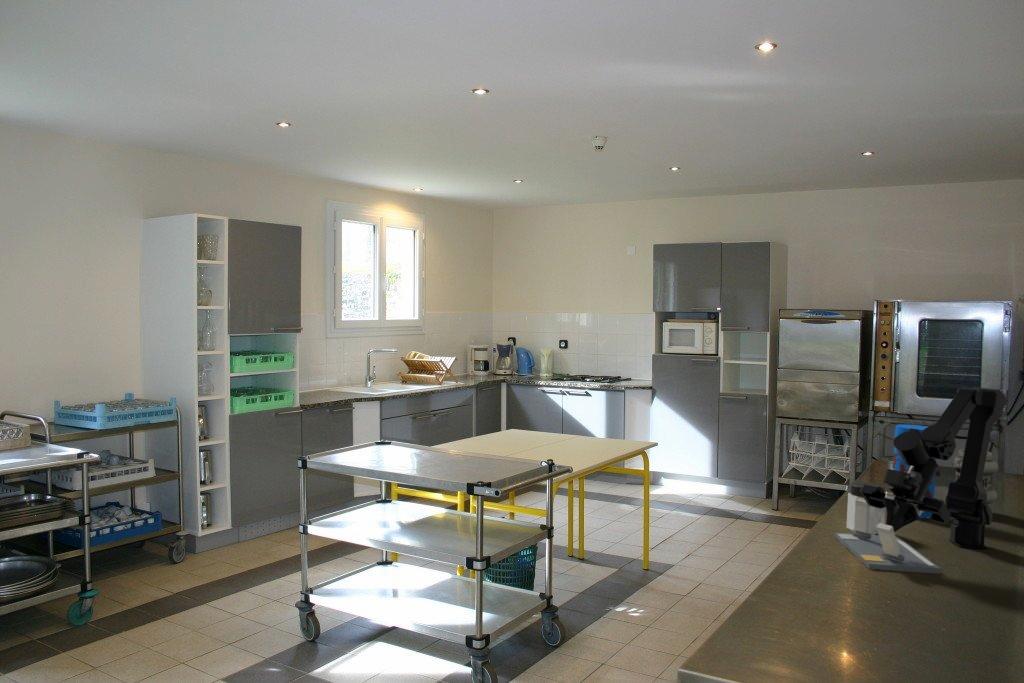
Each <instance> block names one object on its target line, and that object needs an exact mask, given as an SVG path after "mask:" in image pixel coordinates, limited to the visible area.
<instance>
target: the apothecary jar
mask: <svg viewBox="0 0 1024 683" xmlns="http://www.w3.org/2000/svg"><path fill="white" fill-rule="evenodd" d="M964 450H965V448H964V449H963V448H962V449H959V450H958V453H957V456H955V457H954V458H953V459H952V460H951V465H952V467H953V468H954V469H955V475H954V476H955V477H954V478H955V479H954V482H955V481H956V480H957V479H958V478H959V477H960V472H961V466H962V461H963V456H964ZM992 453H993V452H990V451H987V456H986V461H985V467H984V472H983V478H982V484H983V486H984V489H985V491H986V493H987V504H988V505H989V504H992V503H994V502H995V501H997V499H998V493H997V491H996V490H995V489H994V488H993V486H994V485H993V483H994V474H995V473H997V471H999V465H998V463H997V462H996V461H995V460H994V458H993V454H992Z"/></svg>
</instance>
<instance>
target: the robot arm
mask: <svg viewBox="0 0 1024 683" xmlns="http://www.w3.org/2000/svg"><path fill="white" fill-rule="evenodd" d="M1006 405H1007V396H1006V394H1004V393H1003V391H1002V390H1001V389H996V388H985V387H975V386H973V387H971V388H970V387H960V388H956V389H955V392H954V397H953V398H952V399H951V401H950V403H949V404H948V406H947V407H946V409H944V411H943V412H942V414H941V415H940V416H939V418H938V420H937V421H936V422H935V423H934V424H932V425H930V426H928V427H927V428H925V429H924V430H923V431H922V432H921V433H920V432H919V430H918V429H913V428H910V429H909V430H908V432H904V433H901V434H900V435H898V436H897V437H895V436H894V439H893V447H894V446H895V448H896V450H897V452H898V453H899V455H900V457H901V459H902V460H903V462H904V463H905V464H907V465H908V467H907V469H906V471H905V472H902V471H897V470H893V468H891V469H890V468H886V470H885V474H884V477H883V481H882V482H883V483H884V484H887V485H888V486H889V487H888V490H889V491H890V492H888V491H886V492H885V490H884V491H883V489H882V488H881V487H880V486H876V485H871V484H864V485H863V486H862V488H861V490H860V493H861V494H862V496H863V497H864V499H865V501H866V502H867V504H868V505H870V506H871V507H876V508H880V509H882V508H884V507H885V509H886V519H885V520H886V522H885V523H886V525H890V526H893V529H894V533H896V532H897V531H899V530H901V529H902V528H904V527H906V526H908V525H909V524H912V523H913V522H916V521H918V522H920V521H921V520H922V519H921V518H920V515H921V513H923V512H924V511H925V512H929V513H933V514H932V516H931V517H932V518H931V519H932V520H933V522H935V523H939V524H943V525H948V524H949V521H950V520H951V518H952V520H953V521H952V523H951V524H950V534H949V535H950V536H949V538H948V540H949V541H951V542H952V543H953V544H955V545H956V546H958V547H961V548H970V549H974V548H975V549H984V550H985V549H988V546H987V545H985V538H986V537H985V536H986V525H988V526H989V525H991V524H992V521H993V516H994V514H993V512H992V509H991V508H990V505H989V504H987V493H986V491H985V489H984V486H983V484H982V478H983V472H984V467H985V461H986V456H987V452H988V450H989V444H990V438H991V432H992V429H993V427H992V426H993V425H994V424H995V423H996V422H997V421H998V420H999V419H1001V417H1002V415H1003V413H1004V412H1003V411H1004V409H1005V407H1006ZM967 420H969V422H968V423H969V424H968V430H967V434H966V440H965V446H964V449H965V450H964V456H963V461H962V466H961V472H960V477H959V478H958V479H957V480H956V481H955V480H954V482H953V481H951V482H950V483H949V484H948V489H947V490H948V491H947V494H946V496H945V501H944V500H943V499H940V498H935V497H934V498H931V497H924V495H925V494H926V495H929V493H930V491H929V489H928V487H929V485H930V484H931V482H932V480H933V478H934V476H935V477H936V476H937V477H941V474H942V473H941V470H940V466H939V463H937V460H940V461H948V460H949V459H951V457H952V456H953V455H954V453H955V450H956V447H957V443H956V437H957V435H958V433H959V432H960V430H961V429H962V427H963V425H964V424H965V423H966V421H967ZM933 458H934V459H936V461H935V460H934V459H933ZM892 492H893V493H892ZM923 497H924V499H923ZM922 499H923V502H922Z"/></svg>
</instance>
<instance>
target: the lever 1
mask: <svg viewBox="0 0 1024 683" xmlns="http://www.w3.org/2000/svg"><path fill="white" fill-rule="evenodd" d="M869 518H870V505H868V504H867V502H866V501H864V500H860V499H858V500H855V525H854V529H853V530H851V534H852V535H855V536H859V537H862V538H866V539H871V534H869V533H868V532H869Z"/></svg>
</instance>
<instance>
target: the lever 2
mask: <svg viewBox="0 0 1024 683" xmlns="http://www.w3.org/2000/svg"><path fill="white" fill-rule="evenodd" d="M876 529H877V531H878V534H877V535H879V537H880V540H881V544H882V547H883V552H882V555H883V556H885V557H888V558H892V559H895V560H898V561H902V562H903V561H904V555H900V550H899V547H898V543H897V540H896V537H895V536H896V533H895V532H894V529H893V526H890V525H886V524H885V523H884V524H882V523H879V524H878V525H877V526H876Z"/></svg>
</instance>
